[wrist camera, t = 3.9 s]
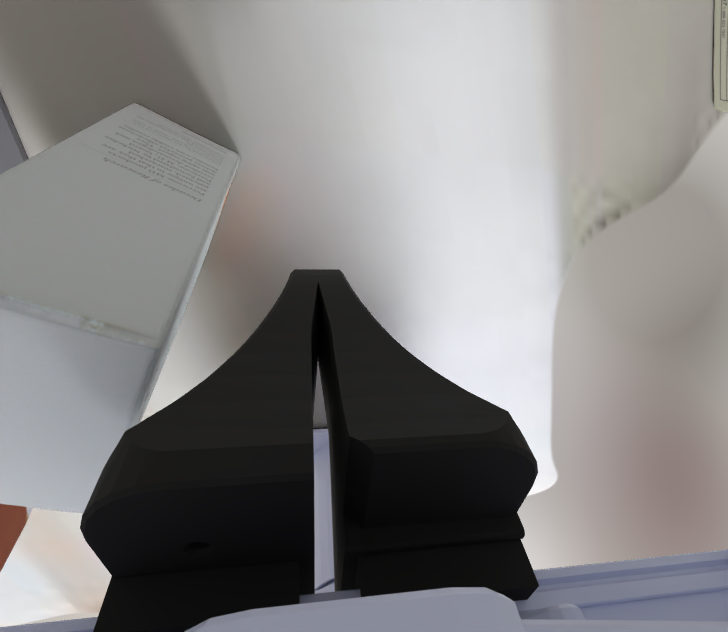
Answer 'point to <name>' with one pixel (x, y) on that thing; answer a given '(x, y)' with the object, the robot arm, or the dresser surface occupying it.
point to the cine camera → (11, 528)
